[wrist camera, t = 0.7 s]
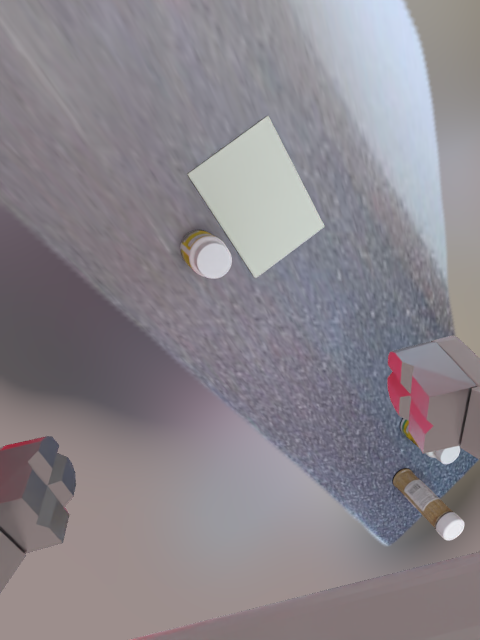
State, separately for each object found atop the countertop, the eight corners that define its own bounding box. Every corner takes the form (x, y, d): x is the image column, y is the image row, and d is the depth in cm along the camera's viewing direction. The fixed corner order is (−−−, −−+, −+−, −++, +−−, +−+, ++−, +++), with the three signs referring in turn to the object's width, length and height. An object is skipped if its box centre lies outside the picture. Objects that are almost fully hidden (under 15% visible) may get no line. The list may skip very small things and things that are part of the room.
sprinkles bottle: (394, 489, 80) (445, 546, 68) (390, 474, 78) (442, 529, 66) (412, 478, 81) (466, 532, 69) (409, 463, 79) (464, 516, 67)
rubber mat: (186, 174, 47) (187, 174, 47) (266, 116, 48) (268, 115, 48) (254, 277, 55) (255, 278, 54) (322, 226, 55) (324, 226, 55)
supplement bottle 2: (427, 412, 75) (469, 444, 67) (413, 436, 76) (452, 470, 68) (408, 406, 73) (448, 438, 65) (394, 431, 74) (432, 465, 66)
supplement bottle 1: (210, 269, 52) (229, 286, 45) (176, 262, 51) (188, 278, 43) (219, 233, 51) (240, 245, 44) (184, 225, 49) (199, 235, 42)
